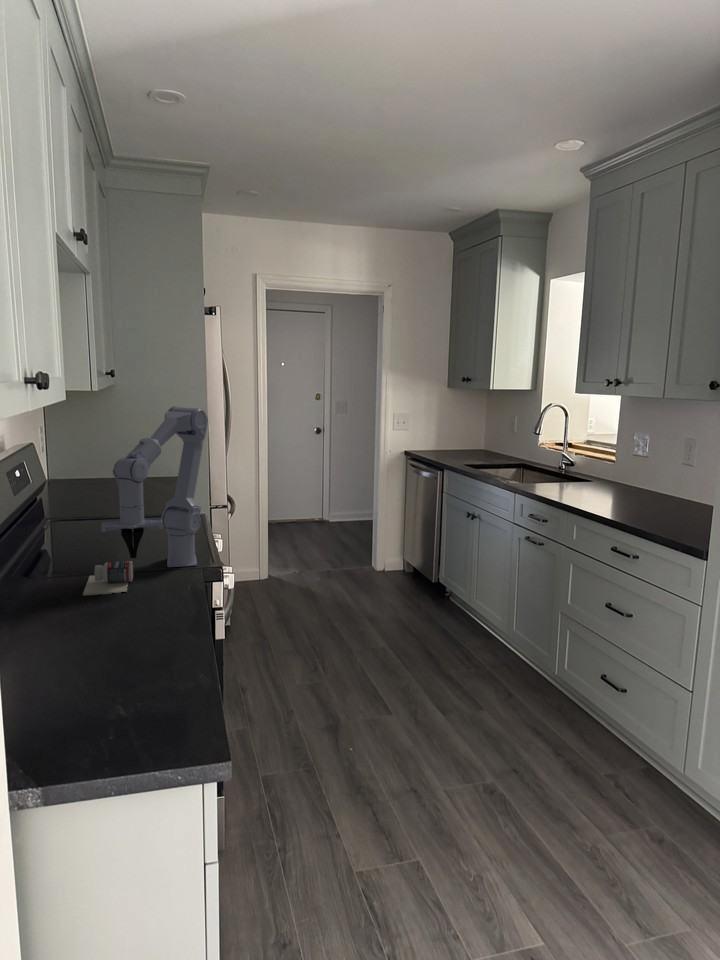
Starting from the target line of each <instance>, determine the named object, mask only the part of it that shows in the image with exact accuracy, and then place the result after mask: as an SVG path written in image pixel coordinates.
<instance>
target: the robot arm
mask: <svg viewBox="0 0 720 960" xmlns="http://www.w3.org/2000/svg"><path fill="white" fill-rule="evenodd" d="M208 423H209V418H208V416H207V414H206V412H205V410H204V409H203V408H201V407H184V406H183V407H179V406H176V405H175V406H170V408H169V409H168V410H167V411H166V412H164V419H163V421H162V422H161V424H160V425H159V426H158V428H156V430H155V431H154V433H153V434H152V435H151V436H150V437H144V438H141V439H140V440H139V442H138V444H137V445H136V446H135V447H134V448H133V449H132V450H131V451H130V452H129V453H128V454H127V455H126V456H124V457H120V458H119V459H118V460H116V462H115V464H114V466H113V469H112V474H113V477H114V478H115V481H116V486H117V487H118V494H119V495H118V496H119V520H116V521H115V520H114V521H105V522H104V521H103V522H101V525H100V526H101V532H103V533H104V532H109V531H112V532H113V531H121V532H120V535H121V537H122V539H123V541H124V543H125V544H126V547H127V550H128V552H129V558H130V559H137V556H138V549H139V545H140V542H141V539H142V537H143V535H144V531H145V530H156V529H157V530H163V529H165V533H167V543H168V546H167V547H168V551H167V552H168V556H166V557H167V558H166V559H167V560H166V561H167V563H166V565H167V566H166V567H167V568H179V567H194V566H195V567H196V566H197V565H198V561H197V555H196V547H195V546H196V544H195V543H196V541H195V540H196V537H195V536H196V535H195V533H197V532H198V530H199V529H200V526H201V524H202V519H201V512H202V511H201V510H202V508H201V506H200V505H199V503H197V502H196V501H195V495H196V494H195V493H196V488H197V483H198V477H199V470H200V464H201V459H202V454H203V453H202V452H203V447H204V442H205V439H206V434H207V428H208ZM175 434H176V436H177V437H179V438H180V439H181V441H182V442H183V445H182V451H181V456H180V457H181V458H180V462H179V469H178V475H177V479H176V480H177V481H176V486H175V491H174V496H173V497H172V498H171V499H169V500H168V501H166V503H165V507H164V510H163V512H162V514H161V517H160V519H158V520H157V519H145V505H144V504H145V503H144V480H145V479H147V477H148V474H149V469H150V468H151V465H152V464H153V463H154V462H155V461H156V459H158V457H159V456H160V455H161V454H162V446H164V445H165V443H167V442H168V441H169V440H170V439H171V438H172V437H173V436H175ZM182 508H183V509H182Z"/></svg>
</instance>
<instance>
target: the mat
mask: <svg viewBox="0 0 720 960" xmlns="http://www.w3.org/2000/svg"><path fill="white" fill-rule="evenodd" d="M127 587H128V588H129V583H128V582H112V583H106V582H105V581H104V580H101V581H95V574H93V575H89V576H88V580H87V582H86V585H85V587H84V590H83V593H82V596H95V595H96V596H97V595H99V594H100V595H111V594H112V593H115V594H122V593H121V592H127V593H128V588H127Z"/></svg>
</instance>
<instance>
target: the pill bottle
mask: <svg viewBox="0 0 720 960" xmlns="http://www.w3.org/2000/svg"><path fill="white" fill-rule="evenodd" d="M133 564H134V563H133V561H131V560H127V561H126V560H125V561H122V560H121V561H108V562H105V563H104V564H103V565H102V564H95V566H94V575H95V581H101V580H104V581H105V582H106V583H112V582H133V579H134V565H133Z"/></svg>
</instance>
